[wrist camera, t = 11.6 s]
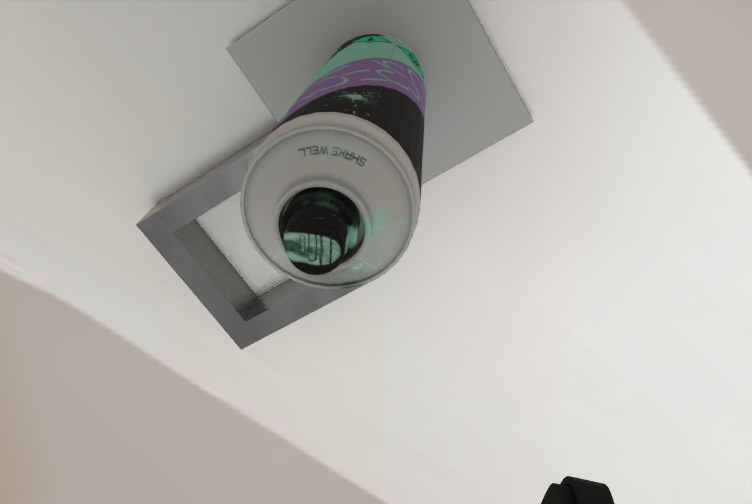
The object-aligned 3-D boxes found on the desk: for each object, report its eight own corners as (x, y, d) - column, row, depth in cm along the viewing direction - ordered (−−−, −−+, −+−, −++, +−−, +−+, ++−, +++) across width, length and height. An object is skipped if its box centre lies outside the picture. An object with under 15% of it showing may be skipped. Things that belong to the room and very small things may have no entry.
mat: (231, 45, 36) (225, 48, 35) (419, -89, 32) (419, -89, 31) (351, 218, 40) (349, 225, 39) (530, 116, 36) (533, 121, 35)
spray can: (444, 105, 35) (453, 288, 17) (357, 151, 37) (283, 362, 19) (395, 11, 33) (350, 109, 16) (305, 63, 35) (171, 207, 17)
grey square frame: (155, 205, 40) (136, 224, 38) (284, 122, 37) (273, 137, 35) (253, 323, 44) (241, 349, 41) (378, 256, 41) (374, 279, 38)
